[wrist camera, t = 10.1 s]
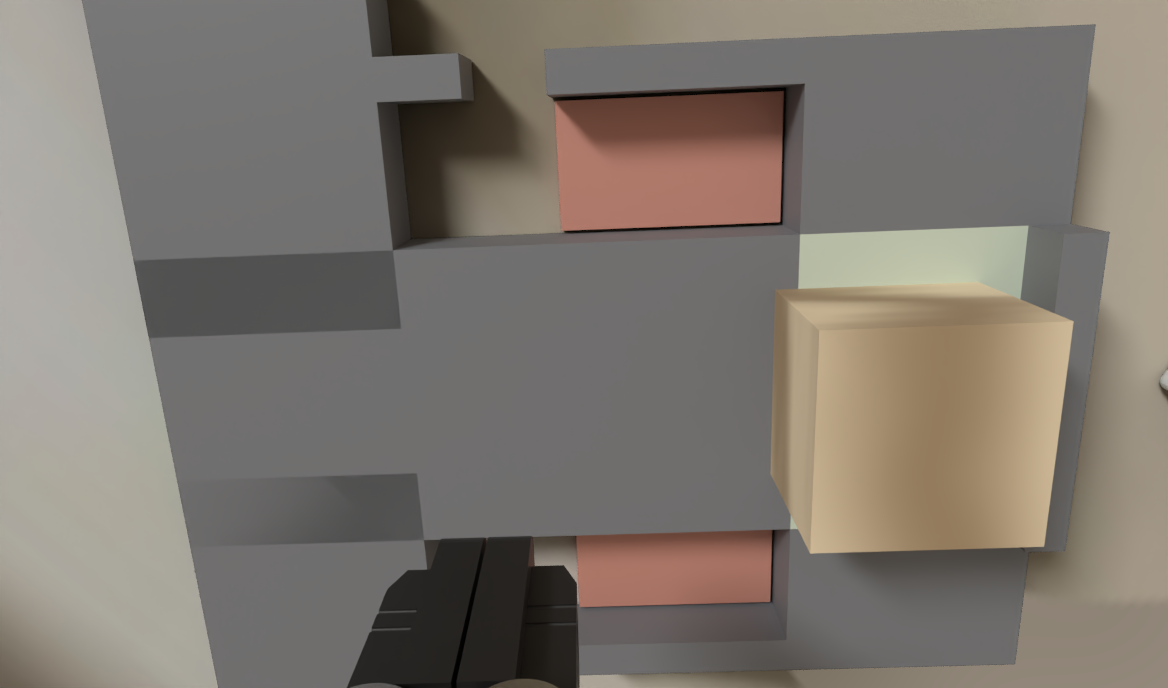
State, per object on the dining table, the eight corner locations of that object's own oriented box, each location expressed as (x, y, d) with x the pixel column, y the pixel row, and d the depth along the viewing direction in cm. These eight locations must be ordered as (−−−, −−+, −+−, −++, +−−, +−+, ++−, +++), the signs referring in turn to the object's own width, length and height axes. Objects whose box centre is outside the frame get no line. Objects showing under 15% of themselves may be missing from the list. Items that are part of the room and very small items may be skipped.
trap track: (259, 706, 25) (207, 795, 22) (124, -32, 20) (25, -64, 16) (974, 689, 25) (1033, 777, 22) (1058, -77, 19) (1158, -120, 16)
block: (770, 473, 21) (810, 553, 17) (774, 289, 19) (819, 330, 16) (960, 468, 21) (1044, 546, 17) (978, 282, 19) (1073, 321, 15)
